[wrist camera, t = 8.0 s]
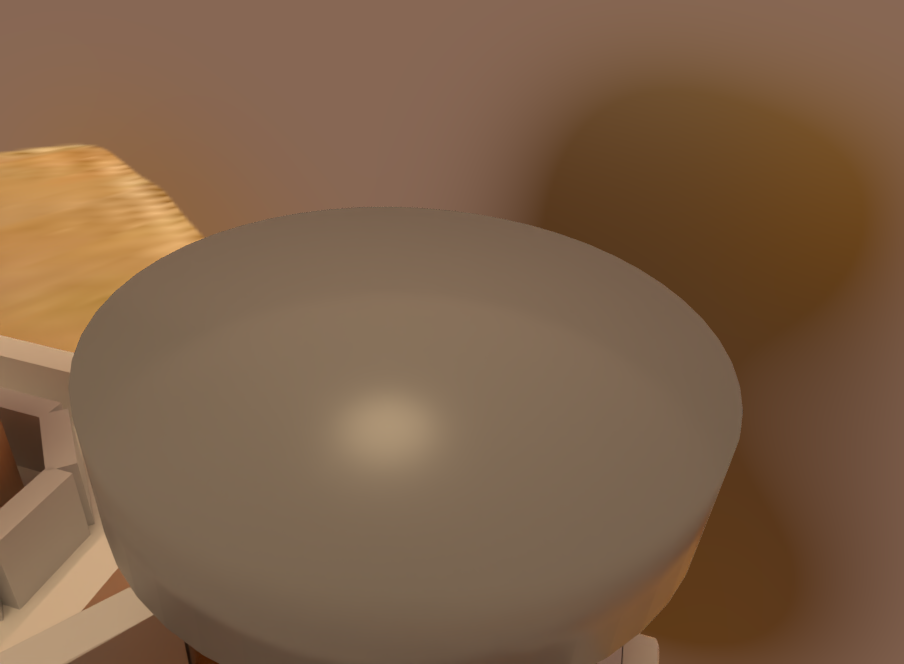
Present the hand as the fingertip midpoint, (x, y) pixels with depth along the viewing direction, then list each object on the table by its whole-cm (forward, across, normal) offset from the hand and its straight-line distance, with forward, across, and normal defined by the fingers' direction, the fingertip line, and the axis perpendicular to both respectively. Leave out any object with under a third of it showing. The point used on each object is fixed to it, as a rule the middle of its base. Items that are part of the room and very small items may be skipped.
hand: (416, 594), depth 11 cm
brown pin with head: (-1, 0, +8) cm, 8 cm away
